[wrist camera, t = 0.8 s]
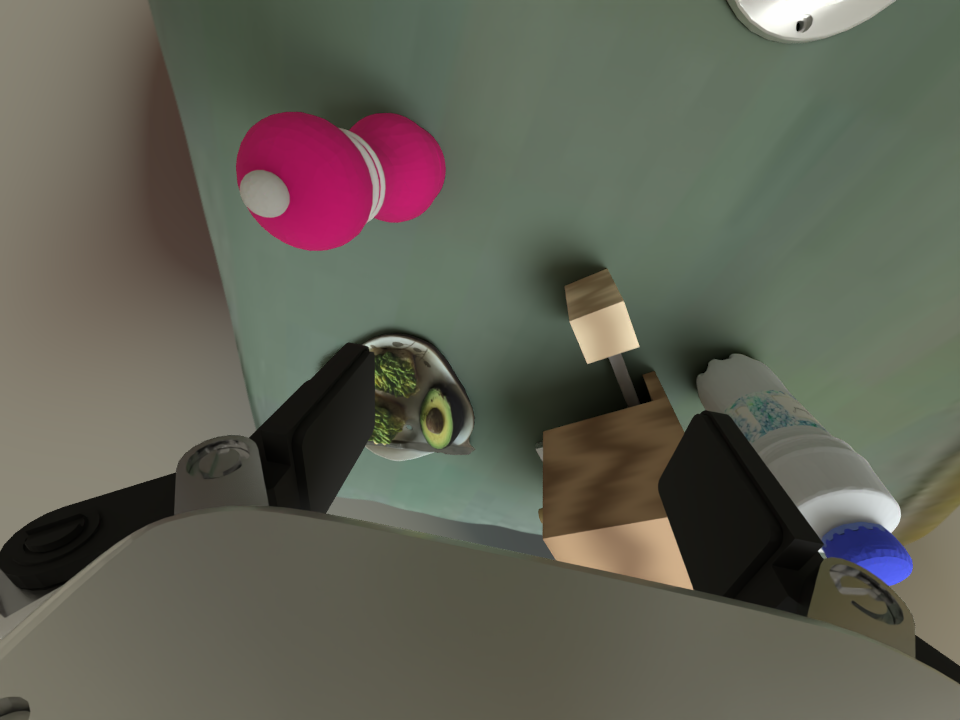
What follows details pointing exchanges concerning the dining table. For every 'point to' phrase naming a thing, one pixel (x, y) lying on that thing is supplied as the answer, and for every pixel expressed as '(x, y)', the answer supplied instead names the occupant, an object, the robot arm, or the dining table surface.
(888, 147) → the dining table surface
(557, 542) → the wooden box
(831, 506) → the bottle
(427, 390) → the salad plate
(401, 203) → the pepper mill
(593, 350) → the beige mallet
